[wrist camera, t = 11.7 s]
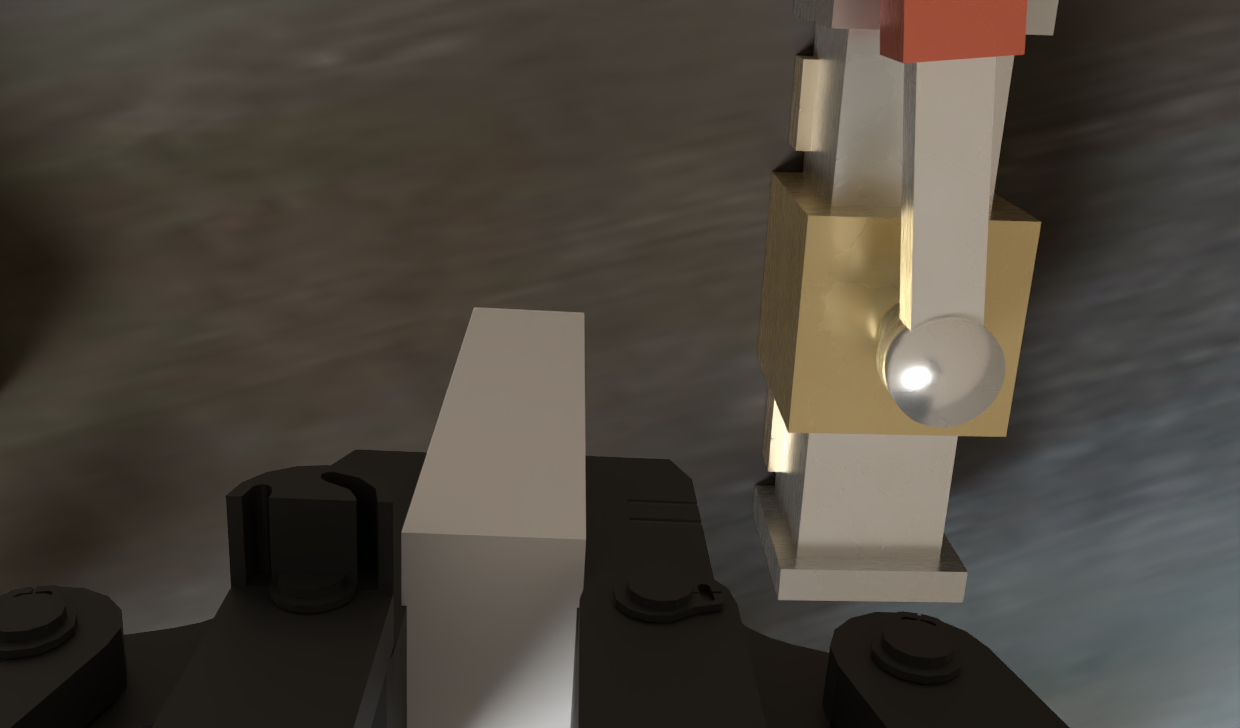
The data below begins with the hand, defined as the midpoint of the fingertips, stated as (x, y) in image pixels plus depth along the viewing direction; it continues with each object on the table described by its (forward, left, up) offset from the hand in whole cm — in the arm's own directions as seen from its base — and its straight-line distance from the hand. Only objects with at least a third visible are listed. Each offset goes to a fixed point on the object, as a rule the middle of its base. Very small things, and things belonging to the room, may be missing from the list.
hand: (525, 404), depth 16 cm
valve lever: (+1, -10, -16) cm, 19 cm away
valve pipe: (-5, -11, -25) cm, 28 cm away
